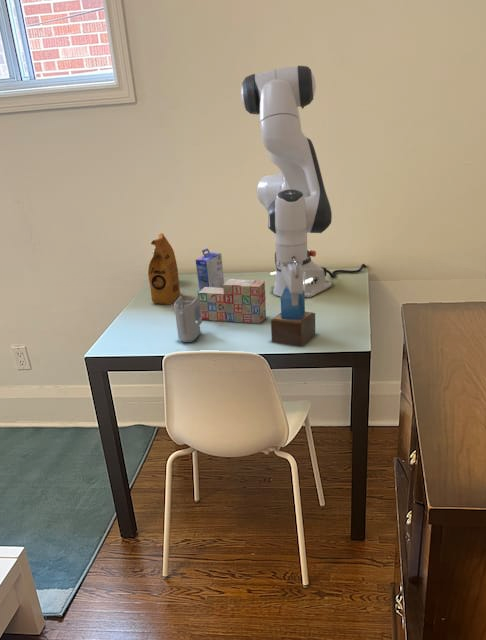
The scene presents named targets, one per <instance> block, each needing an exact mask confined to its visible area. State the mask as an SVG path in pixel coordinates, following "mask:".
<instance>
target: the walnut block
mask: <svg viewBox="0 0 486 640" xmlns="http://www.w3.org/2000/svg"><path fill="white" fill-rule="evenodd" d="M270 330H271V332H270V333H271V343H274V344H275V343H277V344H281V345H282V344H283V345H289V346H295V347H303V346H304V345H305V344H307V343H308V342H309V341H310V340H311V339H313V338H314V337H315V336H316V312H313V311H306V310H305V313H304V315H303V318H302V319H281V312H280V313H278V314H277V315H275V316H274V317H273V318H271V319H270Z"/></svg>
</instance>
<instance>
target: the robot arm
mask: <svg viewBox="0 0 486 640" xmlns="http://www.w3.org/2000/svg"><path fill="white" fill-rule="evenodd" d="M241 84H242V85H241V87H240V88H241V89H240V99H241V103H242V105H243V107H244V108H245V109H244V110H245V111H246V112H247V113H249V114H250V115H256V116H257V115H259V128H260V136H261V140H262V145H263V146H264V147H265V149H266V150H267V152H268V156H269V159H270V161H271V163H273V164H274V165H275V166H276V167H277V168H278V170H279V172H280V173H273V174H268V175H265V176H262V178H261V179H260V180H259V182H258V184H257V188H256V195H257V199H258V201H259V203H260V204H261V205H262V206H263V207H264V208H265V210H266V212H267V215H268V220H267V221H268V222H267V229H269V230H270V231H271V232H272V233H273V234H274V241H275V252H274V264H275V271H273V272H270V275H274V284H273V289H272V294H273V295H274V296H277V297H280V298H281V297H282V294H283V292H284V289H285V287H286V285H287V287H288V289H289V291H290V293H291V304H292V306H297V305H298V297H299V294H303V290H304V292H305V298H311V297H314V296H315V295H318V294H319V293H321V292H323V291H325V290H328V289H329V288H331V287H332V286H333V284H332V282H331V281H329V280H326V277H327V274H328V275H329V276H330V277H331V278H335V277H336V276H335V274H337V273H346V274H347V273H349V274H357V273H359V272H362V270H363V268H367V265H366V264H365V263H362V264H361V265H360V267H359V269H356V270H355V269H354V270H348V269H336V270H333V271H332V272H331V271H330V270H329V269H327V267H324V266H320V265H319V264H317V263H315V262H314V261H313V260H312V258H311V257H313V258H315V257H316V256H317V251H316V250H312V249H311V250H308V233H310V234H322V233H324V232H325V231H326V230H327V229H328V228H329V227H330V225H332V219H333V211H332V207H331V203H330V200H329V197H328V195H327V191H326V188H325V184H324V180H323V176H322V172H321V168H320V163H319V160H318V156H317V152H316V149H315V146H314V144H313V141H312V140H311V139H310V138H308V137H306V136H305V134H304V132H303V131H302V125H301V117H300V112H299V107H300V108H301V109H302V110H303V109H304V108H305V107H307V106H309V105H310V104H311V103H312V102H313V101H314V98H315V94H316V88H317V83H316V78H315V76H314V74H313V71H312V69H311V68H310V67H309V66H307V65H297V66H288V67H286V66H285V67H277V68H275V69H272V70H271V69H270V70H266V71H262V72H259V73H253V74H250V75H247V76H246V77H244V78H243V81H242V83H241Z"/></svg>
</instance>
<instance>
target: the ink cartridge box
mask: <svg viewBox="0 0 486 640" xmlns="http://www.w3.org/2000/svg"><path fill="white" fill-rule="evenodd" d="M201 252H202V254H203V256H200V257H199V258H197V259H195V267H196V275H197V283H198V290H199V291H201V290H202V289H203V288H204V287H215V288H223V284H225V276H224V266H223V256H222V253H219V252H218V253H217V252H210V250H209V248H204V249H202V250H201ZM206 252H207V253H206Z"/></svg>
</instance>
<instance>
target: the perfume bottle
mask: <svg viewBox="0 0 486 640" xmlns="http://www.w3.org/2000/svg"><path fill="white" fill-rule="evenodd" d="M305 299H306V297H305V292H304V290H303V294H299V297H298V305H297V306H292V304H291V293H290V291H289V289H288V287H287V285H286V287H285V289H284V292H283V294H282V297H280V313H281V319H302V318H303V315H304V313H305V311H306V303H305V301H306V300H305Z"/></svg>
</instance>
